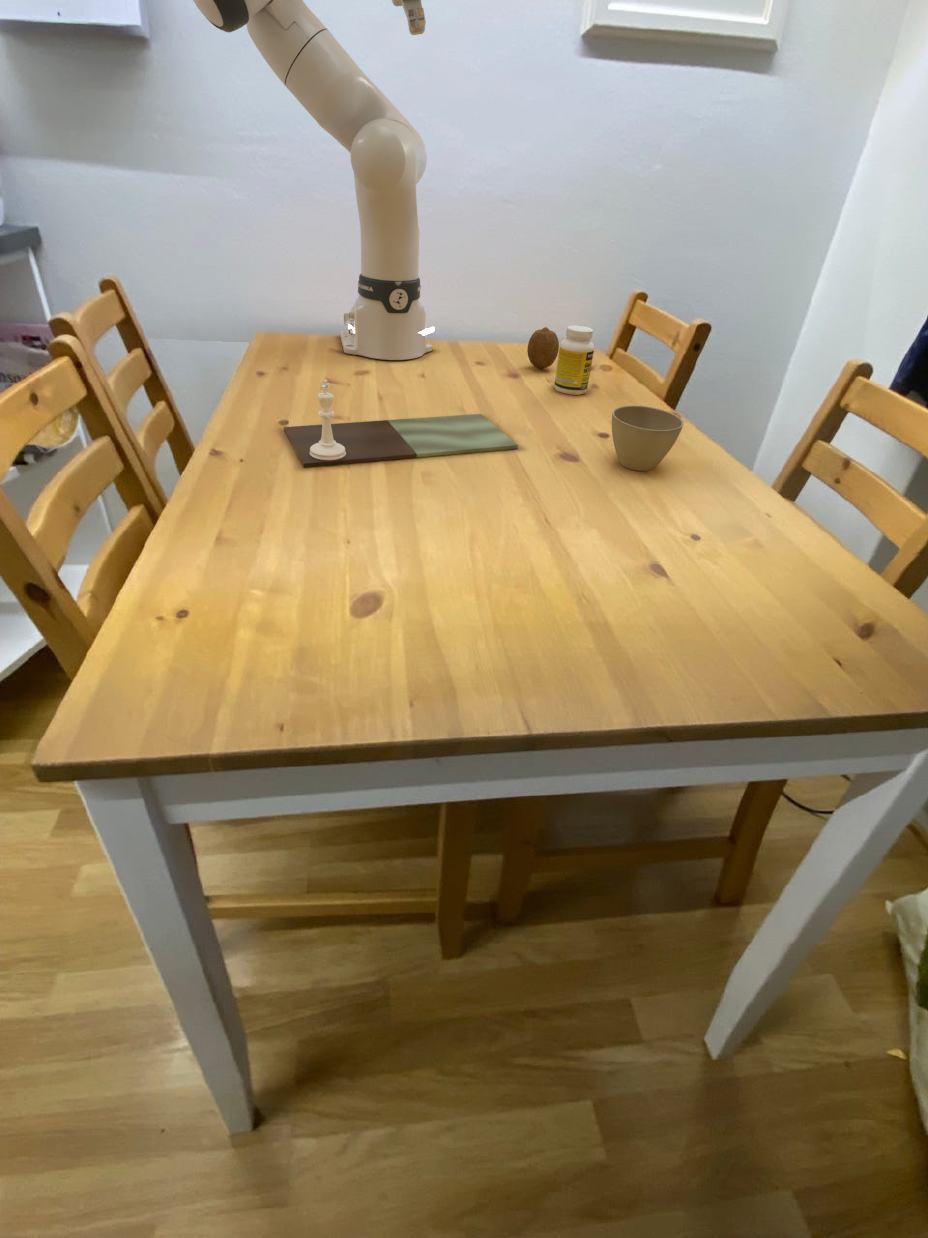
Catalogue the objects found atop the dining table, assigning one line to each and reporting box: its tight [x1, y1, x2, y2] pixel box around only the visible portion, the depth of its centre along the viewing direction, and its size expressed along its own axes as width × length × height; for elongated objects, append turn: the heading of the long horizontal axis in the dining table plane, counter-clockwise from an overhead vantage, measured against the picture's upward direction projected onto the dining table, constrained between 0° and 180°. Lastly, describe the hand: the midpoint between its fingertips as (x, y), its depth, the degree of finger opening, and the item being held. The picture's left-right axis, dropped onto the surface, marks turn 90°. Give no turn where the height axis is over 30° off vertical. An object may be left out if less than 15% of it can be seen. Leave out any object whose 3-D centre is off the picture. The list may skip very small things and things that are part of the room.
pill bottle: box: [553, 325, 595, 396], centre depth 127 cm, size 6×6×11 cm
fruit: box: [527, 326, 560, 370], centre depth 139 cm, size 6×6×8 cm
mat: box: [283, 413, 519, 468], centre depth 104 cm, size 14×32×1 cm, turn 112°
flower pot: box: [611, 404, 684, 472], centre depth 100 cm, size 10×10×7 cm
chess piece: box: [310, 379, 346, 460], centre depth 93 cm, size 5×5×10 cm
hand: (420, 7), depth 74 cm, fingers open, 8 cm apart
